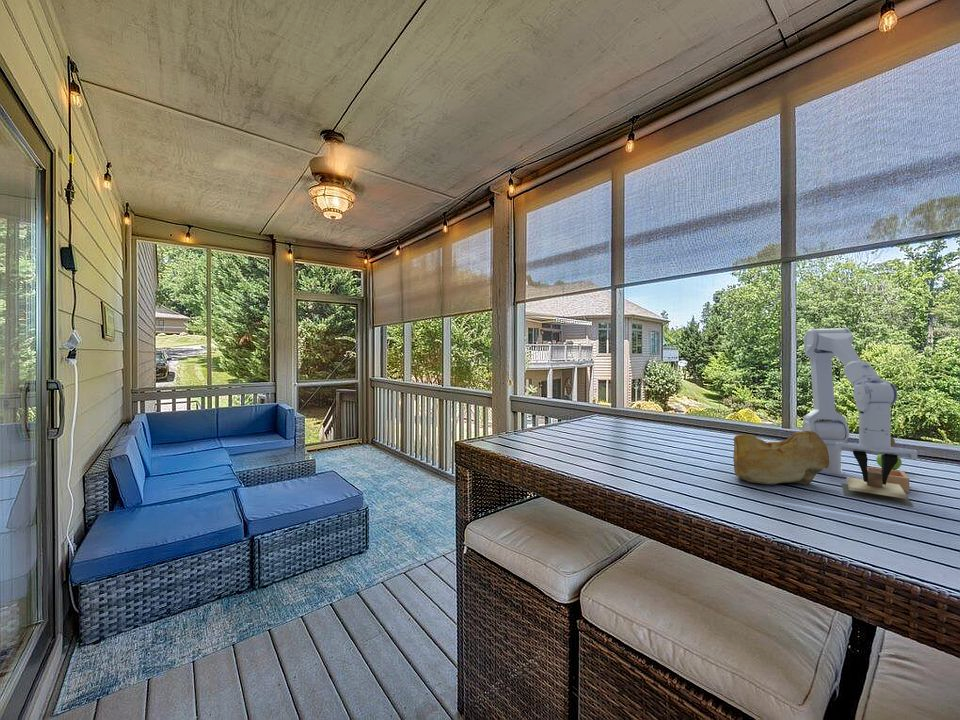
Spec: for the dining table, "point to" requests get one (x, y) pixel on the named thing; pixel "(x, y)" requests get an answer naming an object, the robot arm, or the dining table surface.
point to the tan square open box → (895, 478)
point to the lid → (875, 485)
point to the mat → (875, 496)
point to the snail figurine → (897, 457)
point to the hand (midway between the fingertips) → (874, 482)
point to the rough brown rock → (780, 458)
